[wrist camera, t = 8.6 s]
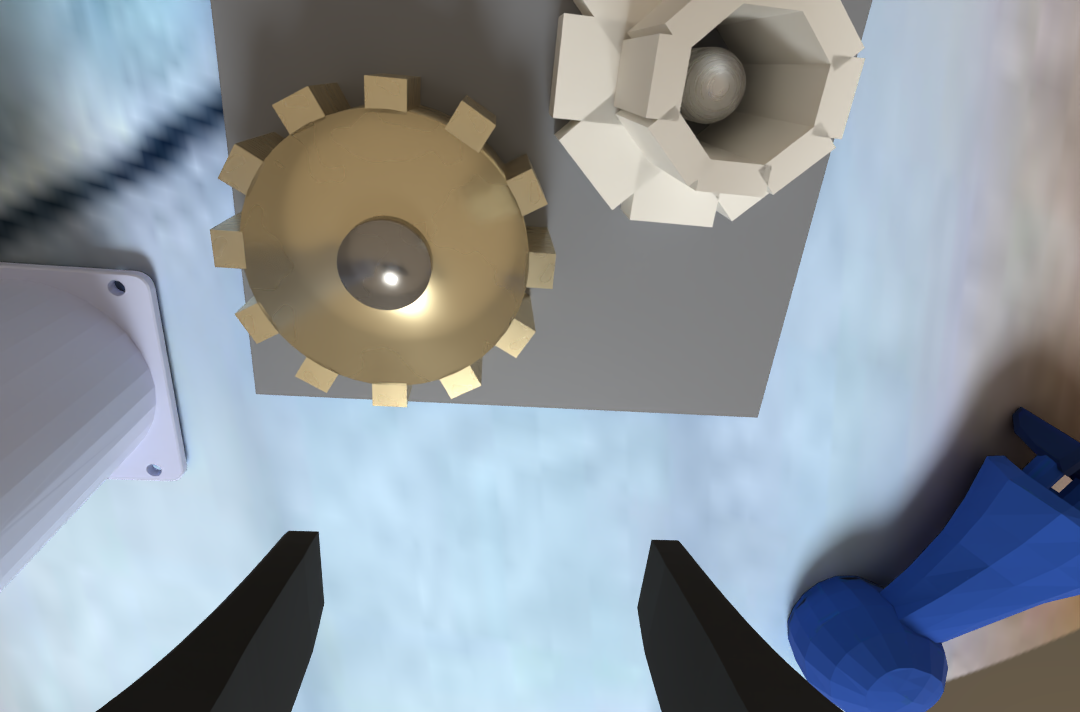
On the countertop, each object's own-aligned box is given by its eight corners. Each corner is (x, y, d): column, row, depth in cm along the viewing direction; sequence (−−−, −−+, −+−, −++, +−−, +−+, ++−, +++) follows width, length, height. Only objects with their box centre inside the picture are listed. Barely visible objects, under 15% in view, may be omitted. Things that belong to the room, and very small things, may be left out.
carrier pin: (646, 113, 18) (677, 123, 15) (657, 45, 18) (691, 42, 14) (705, 119, 18) (747, 130, 15) (718, 52, 18) (765, 49, 15)
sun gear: (266, 355, 21) (224, 409, 18) (236, 58, 17) (174, 57, 14) (533, 369, 22) (541, 423, 18) (561, 90, 18) (575, 96, 15)
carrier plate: (264, 383, 22) (256, 394, 21) (161, -555, 13) (141, -593, 12) (749, 406, 24) (757, 417, 23) (965, -405, 15) (990, -430, 14)
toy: (985, 382, 25) (747, 628, 29) (1133, 469, 19) (811, 758, 24) (1084, 455, 27) (846, 675, 31) (1245, 553, 21) (928, 806, 26)
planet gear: (539, 201, 19) (554, 249, 14) (570, -95, 16) (603, -166, 11) (773, 223, 20) (866, 275, 15) (847, -56, 17) (994, -106, 12)
